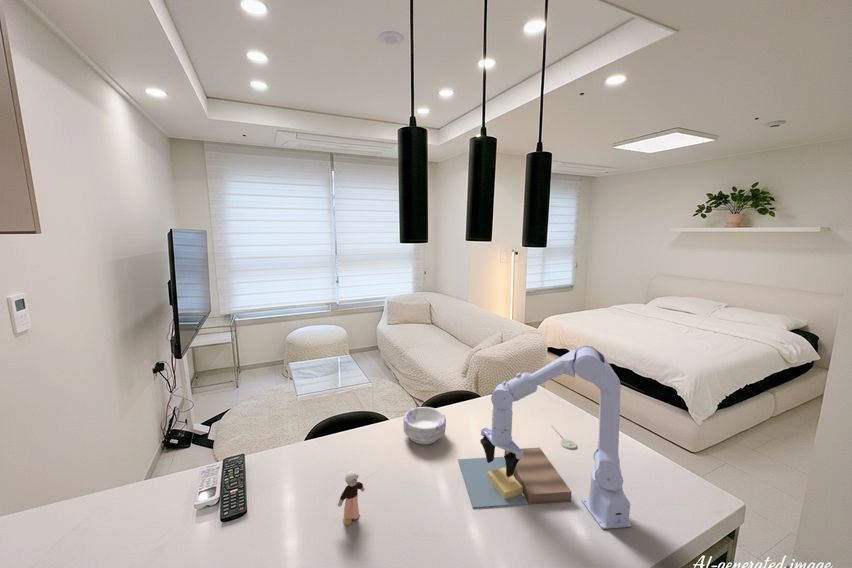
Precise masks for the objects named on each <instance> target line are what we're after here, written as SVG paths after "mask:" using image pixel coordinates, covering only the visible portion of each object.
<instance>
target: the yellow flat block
mask: <svg viewBox="0 0 852 568" xmlns="http://www.w3.org/2000/svg"><path fill="white" fill-rule="evenodd" d="M487 478H488V479H489V480H490V482H491V483H492V484H493V485H494V487H495V488H496V489H497V490H498V492H499V493H500V494H501V496H502V497H503V498H504V499H507V498H510V497H514V496H517V495H520V494H522V495H524V494H523V487H522V486H521V485H520V483H519V482H518V481H517V480H516V479H515V477H514V475H513V476H510V477H507V476H506V468H505V467H504V468H500V469H496V470H492V471H488V477H487Z"/></svg>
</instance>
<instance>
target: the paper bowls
mask: <svg viewBox="0 0 852 568" xmlns="http://www.w3.org/2000/svg"><path fill="white" fill-rule="evenodd" d="M446 422H447V417H446V415H445V414H444V413H443V411H441V410H440V409H438V408H435V407H429V406H419V407H414V408H411V409H410V410H407V412H405V414H404V415H403V432H404V434H405V435H406V436H407V438H409V439H411V440H412V441H413V442H414V443H416V444H418V445H430V444H433V443H435V442H436V441H438V439H440V438H442V437H443V436H444V435H445V434H446V428H447V427H446V426H447V423H446Z"/></svg>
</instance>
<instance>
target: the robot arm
mask: <svg viewBox="0 0 852 568" xmlns="http://www.w3.org/2000/svg"><path fill="white" fill-rule="evenodd" d="M562 375H566V376H569V377H573V378H575V377H576V375H577V376H578V377H579V378H581V379H583V380H584V381H587V382H589V383H591V384H593V385H595V386H596V387H597V388H598V389H599V405H598V407H599V409H598V412H599V413H598V414H599V415H598V439H597V440H598V441H597V448H596V449H595V451H594V452H593V461H594V470H592V472H591V474H590V475H591V476H590V485H589V487H590V488H589V498H582V499H581V502H582V504H583V505H584V506H585V507H586V509H587V510H588V511H589V513H590V514H591V516H592V517H593V518H594V520H595V521H596V522H597V524H598V525H599V527H600V528H601V529H603V530H605V529H616V528H617V529H618V528H630V527H632V523H631V522H630V521H629V520H630V519H629V518H630V512H631V511H630V510H631V503H630V501H629V499H628V498H627V496H626V494H625V492H624V490H623V484H624V478H623V476H622V470H621V464H620V462H621V461H620V456H619V441H620V419H621V418H620V416H621V415H620V414H621V410H620V409H621V390H622V389H621V388H622V387H621V382H620V381H621V380H620V377H618V375H617V374H616V372H615V371H614V369H613V368H612V366H611V364H610V363H609V362H608V360H607V358H606V357H605V354H604V353H602V352H601V351H599V350H598V349H597V348H595V347H593V346H592V345H581V346H579V347H578V348H577V349H573V350H570V351H568V352H567V353H565V354H563V355H561V356H559V357H558V358H556V359H555V360H553V361H551V362H550V363H548V364H547V365H544V366H543V367H542V368H539V369H538V370H536V371H535V372H533V373H531V372H526V371H525V372H518V373H516V375H515V377H513V378H512V379H510V380H508V381H507V380H504V381H503V382H502V383H500V384H497V386H496V387H495V389H494V390H493V392H492V394H491V396H490V397H491V398H490V400H491V403H492V411H491V412H492V413H491V416H492V417H491V429H490V428H488V427H483V428H481V429H480V435H481V436H482V438H481V439H480V444H481V446H482V448H483V451H484V454H485V458H487V462H488V463H490V462H492V461H493V460H494V457H495V451H496V448H498V449H499V448H500V449H502V450H503V451H505V450H507V451H509V454H507V455H505V456H504V455H503V458H504V460H505V462H506V476H507V477H510V476H512V475H513V473H514V470H515V467H516V465H517V463H518V461H519V460H520V459H521V458H522V457H523V450H521V448H520V447H519V446H518V445H517V444H516V443H515V442H514V441H513V436H512V433H513V432H512V430H513V415H514V414H513V402H518V401H519V400H522V399H523V398H526V397H528V396H530V395H532V394H534V393H536V392H537V391H538V386H540V385H542V384H543V383H546V382H547V381H551V380H552V379H554V378H557V377H559V376H562ZM513 476H514V475H513Z"/></svg>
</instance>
